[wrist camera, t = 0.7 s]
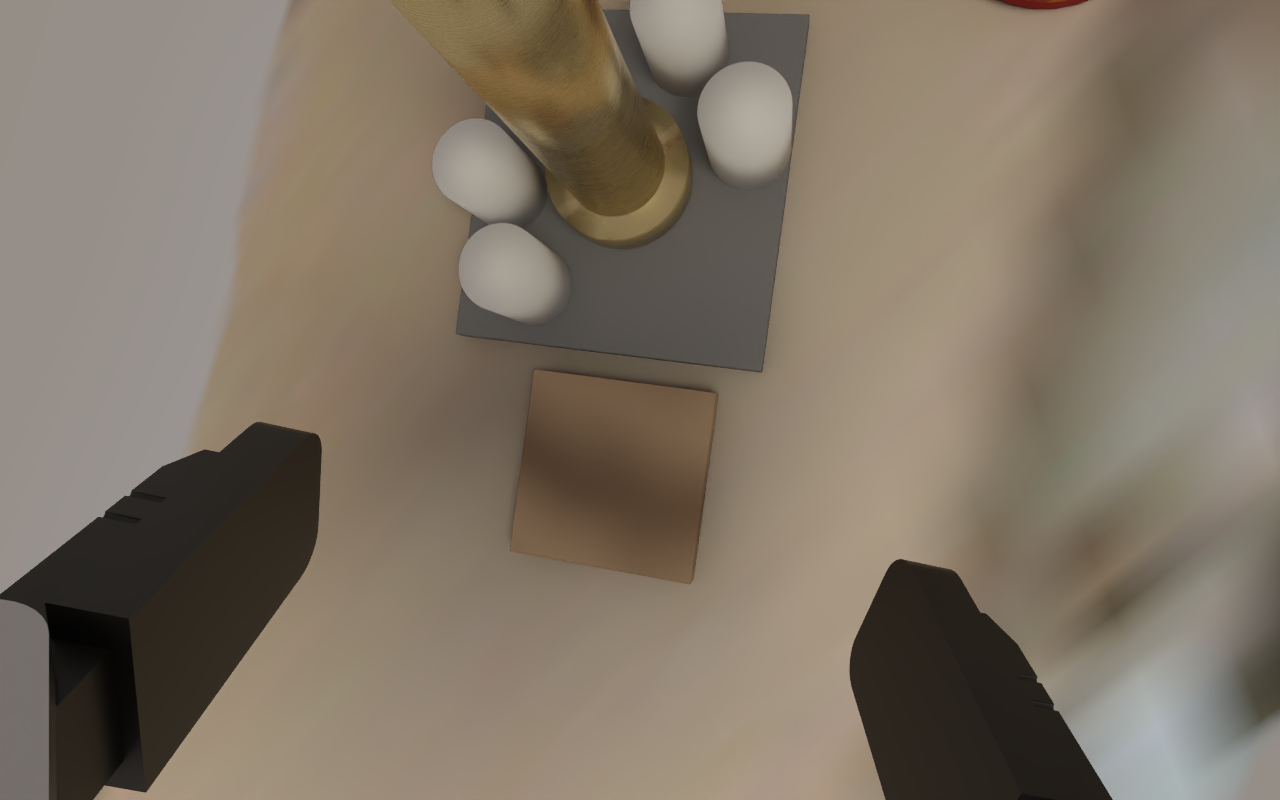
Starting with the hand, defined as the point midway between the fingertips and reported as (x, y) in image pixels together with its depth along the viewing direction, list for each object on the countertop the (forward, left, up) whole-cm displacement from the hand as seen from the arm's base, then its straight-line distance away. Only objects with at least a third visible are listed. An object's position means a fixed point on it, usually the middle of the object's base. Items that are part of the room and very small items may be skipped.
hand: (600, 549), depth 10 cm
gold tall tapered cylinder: (-10, -5, -16) cm, 20 cm away
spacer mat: (-10, -5, -17) cm, 21 cm away
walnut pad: (+1, -4, -17) cm, 18 cm away
